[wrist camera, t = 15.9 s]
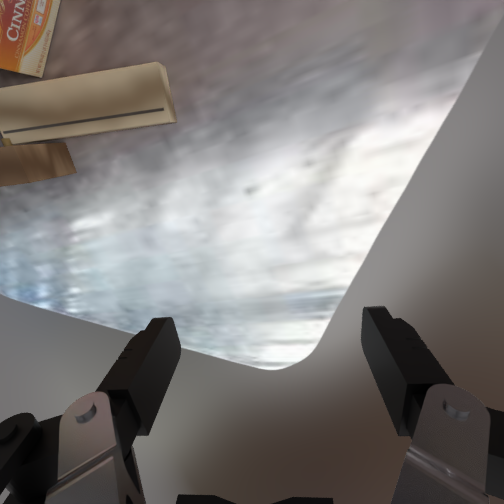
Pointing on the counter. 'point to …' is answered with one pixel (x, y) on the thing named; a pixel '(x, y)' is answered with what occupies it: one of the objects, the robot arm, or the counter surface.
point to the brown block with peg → (33, 162)
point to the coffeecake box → (26, 34)
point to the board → (87, 104)
